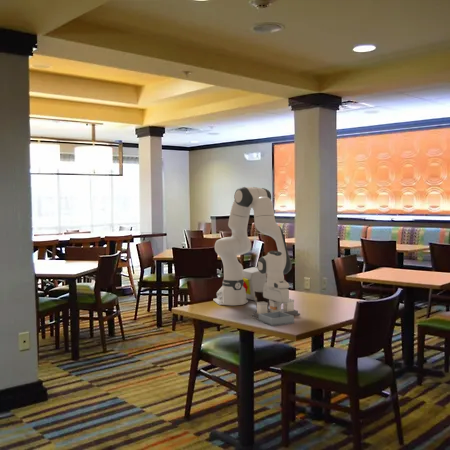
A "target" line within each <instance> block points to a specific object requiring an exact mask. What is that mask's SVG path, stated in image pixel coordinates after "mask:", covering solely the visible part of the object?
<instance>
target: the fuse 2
mask: <svg viewBox="0 0 450 450" xmlns="http://www.w3.org/2000/svg"><path fill="white" fill-rule="evenodd" d="M282 304H283V305H282V307H283V308H282V309H283V310H284V311H294V310H295V299H293V298H289V301H288V303H282Z"/></svg>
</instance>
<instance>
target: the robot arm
mask: <svg viewBox="0 0 450 450" xmlns="http://www.w3.org/2000/svg"><path fill="white" fill-rule="evenodd" d="M252 209H253V210H252ZM251 210H252V211H253V217H254V218H253V221H254V226H255V229H256V230H257V231H258V232H260V233H261V234H263V235H265V236H269V237H271V238H272V239H273V240H274V241H275V244H276V248H277V250H270V251H269V252H267V254H266V255H264V256H260V258H258V260H257V267H258V270H259V272H260V273H262V274H266V278H267V281H266V282H265V285H264V287H263V297H264V298H267V299H269V303H270V300H273V301H276V302H277V307H276V310H280V307H281V308H282V304H283V303H288V301H289V299H290V290H289V288H290V283H288V282H287V281H286V279H285V276H284V275H287V274H288V273H289V272H290V271H291V270H292V268H293V265H292V260H291V258H290V255H289V250H288V248H287V244H286V243H287V242H286V239H285V236H284V231H283V229H282V227H281V226H280V225H278V223H277V221H276V219H275V218H276V217H275V209H274V206H273V201H272V193H271V191H270V190H269V189H268V188H267V189H266V188H265V187H262V188H261V187H255V186H252V187H249V186H248V187H246V186H242V187H238V188H237V189H236V190H235V193H234V200H233V201H232V206H231V210H230V212H229V213H230V214H229V218H228V223H227V226H228V228H229V229H230V231H231V236H227V237H225V236H224V237H222V238H219V239H217V240H216V241H215V243H214V251H215V253H216V255H218V256H219V257H220V259H221V262H222V266H223V279H222V286H221V287H220V288H219V289H218V290H217V292H216V298H213V301H214V302H215V303H216V304H217V305H219V306H222V305H223V306H242V305H245V304H246V303H248V302H249V299H247V298H246V291H245V288H244V287H243V285H244V279H243V269H244V266H243V265H242V263H240V262H239V260H238V256H242V255H245V254H247V253H249V252H250V251H251V249H252V241H251V239H250V238H249V236H248V226H249V225H248V224H249V220H250V215H251Z"/></svg>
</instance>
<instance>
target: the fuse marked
mask: <svg viewBox="0 0 450 450" xmlns="http://www.w3.org/2000/svg"><path fill="white" fill-rule="evenodd" d="M276 307H277V302H276V301H273V300H270V302H269V311H270V312H279V311H281V309H282V306H281V307H280V310H276Z"/></svg>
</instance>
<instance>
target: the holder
mask: <svg viewBox="0 0 450 450" xmlns="http://www.w3.org/2000/svg"><path fill="white" fill-rule="evenodd" d="M281 312H284V313H286V314H289V315H292V316H294V317H295V316H300V315H301V313H299V310H297V309H294V311H284V310H283V308H281ZM268 313H270V310H268ZM250 317H251V318H253V319H254V320H255V319H256V320H257V321H259V314H258V313H257V311H253V312H252V314H251V315H250Z"/></svg>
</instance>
